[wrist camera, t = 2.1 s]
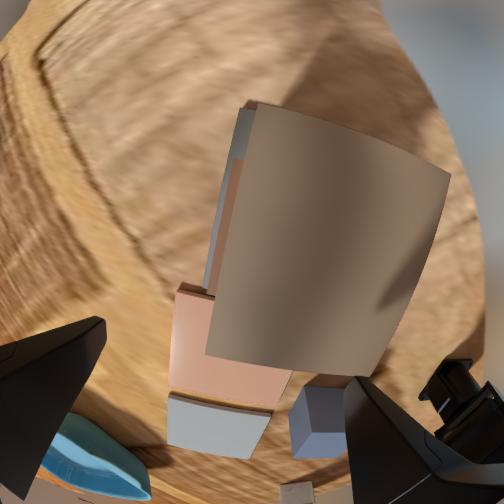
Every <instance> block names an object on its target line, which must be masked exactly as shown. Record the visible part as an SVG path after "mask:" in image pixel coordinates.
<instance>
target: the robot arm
mask: <svg viewBox="0 0 504 504" xmlns="http://www.w3.org/2000/svg"><path fill="white" fill-rule="evenodd" d="M106 340H107V332H106V321H105V320H104V319H103V318H100V317H98V316H92V317H89V318H86V319H83V320H80V321H77V322H74V323H71V324H68V325H65V326H62V327H59V328H55V329H52V330H49V331H46V332H43V333H40V334H37V335H34V336H30V337H27V338H24V339H21V340H18V341H15V342H11V343H8V344H5V345H1V346H0V486H1V484H2V485H4V486H5V487H6V488H7V489H8V490H10V491H11V492H12V493H14V494H15V495H16V496H18V497H19V498H20V499H22V500H23V501H24V500H25V498H26V496H27V493H28V491H29V489H30V486H31V484H32V482H33V480H34V478H35V476H36V474H37V471H38V469H39V467H40V465H41V463H42V461H43V459H44V457H45V455H46V453H47V451H48V449H49V447H50V445H51V443H52V441H53V439H54V437H55V435H56V434H57V432H58V430H59V428H60V426H61V424H62V423H63V421H64V419H65V417H66V415H67V414H68V412H69V410H70V408H71V407H72V405H73V403H74V402H75V400H76V398H77V397H78V395H79V393H80V391H81V390H82V388H83V387H84V385H85V383H86V382H87V380H88V378H89V377H90V375H91V373H92V371H93V369H94V367H95V364H96V362H97V360H98V358H99V356H100V354H101V352H102V350H103V348H104V346H105V344H106ZM472 364H473V360H472V359H447V360H444V361H443V362H442V364H441V365H440V367H439V368H438V370H437V371H436V373H435V374H434V376H433V377H432V379H431V380H430V382H429V383H428V385H427V386H426V387H425V389H424V390H423V392H422V393H421V394H420V396H419V397H418V399H419V400H420V401H424V400H430V401H431V403H432V405H433V406H434V408H435V410H436V412H437V413H439V415H440V417H441V419H442V420H443V422H444V425H443V426H442V427H441V428H440V429H437V430H436V431H435V432H434V434H435V436H433V435H432V434H431V433H430V432H429V431H427V430H426V429H424V427H423V426H421V425H420V424H419V423H418V422H417V421H416V420H414V419H413V418H412V417H411V416H410V415H409V414H407V413H406V412H405V411H404V410H403V409H402V408H401V407H399V406H398V405H397V404H396V403H395V402H394V401H392V400H391V399H390V398H389V397H388V396H387V395H386V394H384V393H383V392H382V391H381V390H380V389H379V388H378V387H376V386H375V385H374V384H373V383H372V382H371V381H370V380H369V379H367V378H366V377H365V376H358V375H356V376H354V377H353V378H352V379H351V381H350V382H349V384H348V386H347V387H346V389H345V391H344V394H343V401H344V425H345V435H346V442H347V449H348V456H349V464H350V472H351V481H352V490H353V500H354V504H504V397H503V395H502V394H501V393H500V392H499V390H498V389H497V388H496V387H495V386H494V385H492V384H491V382H489V381H487V382H486V384H485V385H484V386H483V388H481V387H480V386H479V384H478V383H477V382H476V380H475V379H474V378H473V376H472V375H471V374H470V373H469V371H468V370H469V369H470V367H471V365H472ZM493 397H495V398H494V399H492V398H493ZM0 504H2V502H1V500H0Z"/></svg>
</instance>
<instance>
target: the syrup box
mask: <svg viewBox="0 0 504 504" xmlns="http://www.w3.org/2000/svg"><path fill="white" fill-rule="evenodd" d="M280 504H316V503H315V497H314V491H313V485H312V481H307V482H299V483H292V484H285V485H280Z"/></svg>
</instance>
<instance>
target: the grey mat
mask: <svg viewBox="0 0 504 504" xmlns="http://www.w3.org/2000/svg"><path fill="white" fill-rule="evenodd" d="M270 418H271V413H265V412H257V411H250V410H243V409H237V408H231V407H226V406H220V405H215V404H210V403H205V402H201V401H196V400H192V399H188V398H184V397H180V396H176V395H172V394H169V396H168V409H167V444H169V445H173V446H177V447H181V448H185V449H189V450H194V451H199V452H204V453H209V454H214V455H220V456H227V457H234V458H241V459H249V458H250V456H251V454H252V452H253V451H254V449H255V447H256V445H257V443H258V441H259V439H260V438H261V436H262V434H263V432H264V430H265V428H266V426H267V424H268V422H269V420H270Z"/></svg>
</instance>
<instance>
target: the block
mask: <svg viewBox="0 0 504 504" xmlns="http://www.w3.org/2000/svg"><path fill="white" fill-rule="evenodd" d="M344 391H345V389H343V388H327V387H314V386H303V388H302V390H301V392H300V394H299V396H298V398H297V400H296V401H295V403H294V405H293V407H292V409H291V411H290V412H289V414H288V416H289V426H290V436H291V446H292V456H293V458H339V457H340V456H341V455H342V454H343V453H344V452H345V451H346V450H347V442H346V435H345V425H344V401H343V394H344Z"/></svg>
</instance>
